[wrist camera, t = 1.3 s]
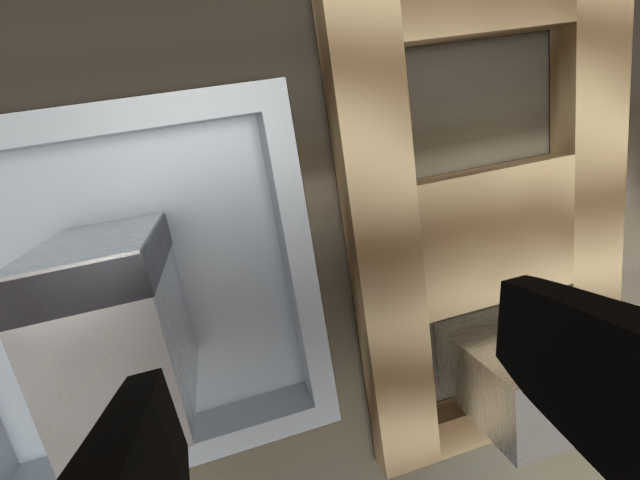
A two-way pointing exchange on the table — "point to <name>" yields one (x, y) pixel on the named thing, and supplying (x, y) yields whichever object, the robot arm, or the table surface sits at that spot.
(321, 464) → the table surface
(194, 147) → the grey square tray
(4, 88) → the table surface
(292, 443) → the table surface
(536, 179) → the wooden frame board
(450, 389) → the block
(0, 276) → the loose billet
